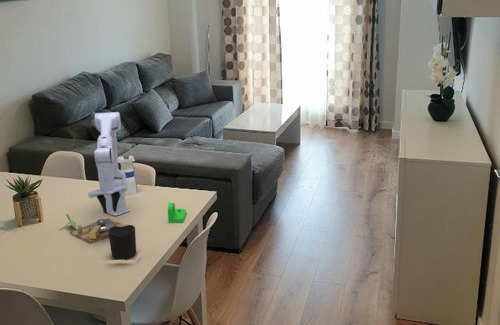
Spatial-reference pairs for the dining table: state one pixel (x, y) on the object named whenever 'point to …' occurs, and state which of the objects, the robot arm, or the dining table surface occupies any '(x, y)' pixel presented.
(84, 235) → the board
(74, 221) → the seedling
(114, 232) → the pen holder
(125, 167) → the water bottle
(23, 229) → the dining table surface
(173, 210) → the mechanical part
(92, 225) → the pan with wooden handle
